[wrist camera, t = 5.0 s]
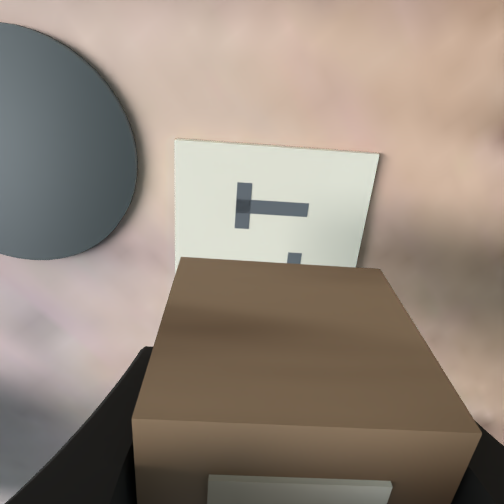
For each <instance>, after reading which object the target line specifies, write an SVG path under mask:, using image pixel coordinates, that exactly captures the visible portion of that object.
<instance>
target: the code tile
mask: <svg viewBox="0 0 504 504" xmlns="http://www.w3.org/2000/svg"><path fill="white" fill-rule="evenodd" d="M379 155H380V154H378V153H374V152H361V151H347V150H333V149H319V148H305V147H291V146H277V145H263V144H249V143H235V142H221V141H207V140H193V139H179V138H175V140H174V158H175V274H176V271H177V268H178V265H179V261H180V258H181V257H194V258H210V259H226V260H242V261H259V262H275V263H291V264H307V265H324V266H340V267H356V263H357V259H358V254H359V249H360V244H361V240H362V235H363V230H364V226H365V221H366V216H367V211H368V207H369V202H370V197H371V193H372V188H373V183H374V178H375V174H376V169H377V164H378V160H379Z"/></svg>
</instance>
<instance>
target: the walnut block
mask: <svg viewBox="0 0 504 504" xmlns="http://www.w3.org/2000/svg"><path fill="white" fill-rule="evenodd" d="M132 433H133V448H134V463H135V478H136V493H137V504H451V502H452V500H453V497H454V495H455V493H456V491H457V489H458V486H459V484H460V482H461V480H462V478H463V475H464V473H465V471H466V469H467V467H468V464H469V462H470V460H471V458H472V455H473V453H474V451H475V449H476V447H477V444H478V442H479V440H480V438H481V436H482V432H481V430H480V429H479V427H478V425H477V424H476V422H475V421H474V419H473V417H472V416H471V414H470V413H469V411H468V409H467V408H466V406H465V405H464V403H463V401H462V400H461V398H460V397H459V395H458V393H457V392H456V390H455V389H454V387H453V385H452V384H451V382H450V381H449V379H448V377H447V376H446V374H445V373H444V371H443V369H442V368H441V366H440V364H439V363H438V361H437V360H436V358H435V356H434V355H433V353H432V352H431V350H430V348H429V347H428V345H427V344H426V342H425V340H424V339H423V337H422V336H421V334H420V332H419V331H418V329H417V328H416V326H415V324H414V323H413V321H412V320H411V318H410V316H409V315H408V313H407V311H406V310H405V308H404V307H403V305H402V303H401V302H400V300H399V299H398V297H397V295H396V294H395V292H394V291H393V289H392V287H391V286H390V284H389V283H388V281H387V279H386V278H385V276H384V275H383V273H382V271H381V270H380V269H372V268H356V267H340V266H324V265H307V264H291V263H275V262H259V261H242V260H226V259H210V258H194V257H181V258H180V261H179V265H178V268H177V271H176V274H175V278H174V281H173V284H172V288H171V291H170V294H169V297H168V301H167V304H166V307H165V311H164V314H163V317H162V320H161V324H160V327H159V330H158V334H157V337H156V340H155V343H154V347H153V350H152V353H151V356H150V360H149V363H148V366H147V370H146V373H145V376H144V379H143V383H142V386H141V389H140V393H139V396H138V399H137V402H136V406H135V409H134V412H133V416H132Z"/></svg>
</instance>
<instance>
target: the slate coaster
mask: <svg viewBox="0 0 504 504" xmlns="http://www.w3.org/2000/svg"><path fill="white" fill-rule="evenodd" d="M137 162H138V161H137V152H136V145H135V141H134V137H133V132H132V129H131V127H130V124H129V121H128V119H127V116H126V114H125V112H124V110H123V108H122V106H121V104H120V102H119V100H118V99H117V97H116V96H115V94H114V93H113V91H112V90H111V88H110V87H109V85H108V84H107V83H106V82H105V81H104V79H103V78H102V77H101V76H100V75H99V74H98V72H97V71H96V70H95V69H94V68H93V67H91V66H90V65H89V64H88V63H87V62H86V61H85V60H84V59H83V58H82V57H80V56H79V55H78V54H76V53H75V52H74V51H72V50H71V49H70V48H68V47H67V46H65V45H63V44H62V43H60V42H58V41H57V40H55V39H53V38H51V37H49V36H47V35H45V34H42V33H40V32H38V31H35V30H33V29H29V28H26V27H22V26H19V25H15V24H8V23H2V22H0V254H3V255H7V256H11V257H16V258H21V259H30V260H52V259H60V258H65V257H69V256H73V255H76V254H78V253H81V252H83V251H86V250H88V249H89V248H91V247H93V246H95V245H96V244H98V243H99V242H101V241H102V240H103V239H104V238H106V237H107V236H108V235H109V234H110V233H111V232H112V231H113V230H114V229H115V227H116V226H117V225H118V223H119V222H120V220H121V219H122V217H123V216H124V215H125V213H126V211H127V209H128V207H129V205H130V203H131V200H132V197H133V194H134V191H135V186H136V180H137Z"/></svg>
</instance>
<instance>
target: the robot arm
mask: <svg viewBox="0 0 504 504" xmlns="http://www.w3.org/2000/svg"><path fill="white" fill-rule="evenodd" d="M152 350H153V347H147V346H145V347H144V348H143V349H141V350H140V352H139V353H138V355H137V356H136V358H135V359H134V361H133V362H132V364H131V365H130V367H129V368H128V369H127V371H126V372H125V373H124V375H123V376H122V377H121V379H120V380H119V381H118V383H117V384H116V385H115V387H114V388H113V389H112V390H111V392H110V393H109V394H108V395H107V397H106V398H105V399H104V400H103V401H102V403H101V404H100V405H99V406H98V408H97V409H96V410H95V411H94V412H93V414H92V415H91V416H90V417H89V418H88V420H87V421H86V422H85V423H84V424H83V425H82V426H81V427H80V428H79V430H78V431H77V432H76V433H75V434H74V435H73V436H72V437H71V438H70V439H69V441H68V442H67V443H66V444H65V445H64V446H63V447H62V448H61V449H60V450H59V451H58V453H57V454H56V455H55V456H54V457H53V458H52V459H51V460H50V461H49V462H48V463H47V464H46V465H45V466H44V467H43V468H42V469H41V470H40V471H39V472H38V473H37V474H36V475H35V476H34V477H33V478H32V479H31V480H30V481H29V482H27V483H26V484H25V485H24V486H23V487H22V488H21V489H20V490H19V491H18V492H17V493H16V494H15V495H14V496H13V497H12V498H11V499H9V500H8V501H7V502H6V503H5V504H137V493H136V478H135V463H134V448H133V433H132V416H133V412H134V409H135V406H136V402H137V399H138V396H139V393H140V389H141V386H142V383H143V379H144V376H145V373H146V370H147V366H148V363H149V360H150V356H151V353H152ZM474 421H475V420H474ZM475 422H476V421H475ZM476 424H477V425H478V427H479V429H480V430H481V432H482V436H481V438H480V440H479V442H478V444H477V447H476V449H475V451H474V453H473V455H472V458H471V460H470V462H469V464H468V467H467V469H466V471H465V473H464V475H463V478H462V480H461V482H460V484H459V486H458V489H457V491H456V493H455V495H454V497H453V500H452V502H451V504H504V446H503V445H502V444H500V443H499V442H498V441H497V440H496V439H495V438H494V437H492V436H491V435H490V434H489V433H488V432H487V431H486V430H485V429H483V428H482V427H481V426H480V425H479V424H478V423H477V422H476Z"/></svg>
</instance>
